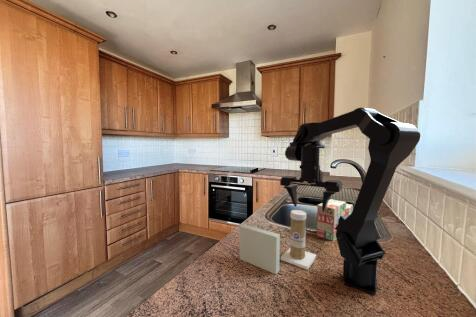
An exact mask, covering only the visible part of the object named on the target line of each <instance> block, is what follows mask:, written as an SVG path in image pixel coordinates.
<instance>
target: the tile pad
mask: <svg viewBox="0 0 476 317" xmlns="http://www.w3.org/2000/svg"><path fill="white" fill-rule="evenodd" d="M315 259H317V254H315V253H312V252H310V251H306V250H305V258H303V259H296V258H293V257H292V256H291V255H290V247H289V248H288V249H287V250H286V251H285V252H284V253H283V254H282V255H281V256H280V261H283V262H286V263H288V264H289V265H290V264H291V265H294V266H296V267H299V268H301V269H304V270H307V271H308V270H309V268H310V267H311V266H312V264H313V262H314V261H315Z"/></svg>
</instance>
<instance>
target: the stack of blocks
mask: <svg viewBox="0 0 476 317" xmlns="http://www.w3.org/2000/svg"><path fill="white" fill-rule="evenodd" d="M322 204H323V202H321V203H319V204H317V209H316V210H317V211H316V237H319V238H322V239H325V240H326V241H331V242H335V241H337V238H336V231H337V230H335V228H336V227H337V225H338V220H339V218H340V216H345V215H350V214H351V213H352V210H353V208H354V204H351V203H350V204H349V203H347V201H343V200H339V199H332V198H331V199H329V201H328V204H327V206H326V209H325V211H324V212H323V211H322Z"/></svg>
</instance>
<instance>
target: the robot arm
mask: <svg viewBox="0 0 476 317" xmlns="http://www.w3.org/2000/svg"><path fill="white" fill-rule="evenodd" d="M357 128H358V129H359V131H360V132H361V133H362V134H363V135H364V136H366V137H367V138H368V139H369V140H368V141H369V142H368V147H367V150H368V153H369V158H370V159H369V160H370V162H369V165H368V167H367V171H366V172H365V175H364V178H363V180H362V184H361V186H360V189H359V192H358V195H357V197H356V201H355V203H354V204H353V210H352V213H351V214H350V215H345V216H340V218H339V220H338V225H337V227H336V228H335V230H337V231H336V238H337V239H336V242H337V245H338V250H339V254H340V257H341V258H342V259H343V262H342V264H343V268H342V276H343V278H344V280H343V283H344V284H345V285H346V286H350V287H353V288H355V289H358V290H361V291H364V292H367V293H369V294H372V295H377V288H378V287H377V286H378V278H377V274H378V273H377V272H378V261H379V260H383V259H384V257H385V255H386V251H385V250H384V249H383V247H382V246H381V244H380V243H379V241H378V240H377V239H376V237H377V236H376V235H377V228H376V223H375V220H376V217H377V215H378V213H379V210H380V207H381V205H382V203H383V202H384V201H383V200H384V199H385V196H386V195H387V191H388V189H389V187H390V184H391V182H392V180H393V177H394V175H395V172H396V169H397V168H398V166H399V165H400V164H402V163H403V162H404V160H406V159H407V158H408V157H409V156H411V154H412V152H413V151H414V149H415V148H416V146H418V144H419V142H420V139H421V132H420V131H419V130H418V128H417V127H416V126H415V125H414V124H412V123H405V122H401V121H398V120H396V119H395V118H391V117H389V116H387V115H385V114H382V113H381V112H379V111H377V110H376V109H374V108H372V107H371V108H369V107H357V108H355V109H354V110H352V111H348V112H345V113H343V114H340V115H337V116H335V117H331V118H329V119H326V120H323V121H320V122H306V123H302V124H300V125H299V128H298V129H297V132H296V134H295V136H294V138H293V139H292V142H291V141H290V142H289V145H288V146H287V147H286V148H285V150H284V155H285V158H286V159H287V160H289V161H291V162H292V161H294V162H300V165H299V169H300V177H299V178H297V176H295V175H293V176H292V175H286V176H281V178H280V181H279V183H280V184H279V186H283V189H286V191H287V193H288V196H289V197H290V199H291V202H292V204H293V206H294V207H295V208H296V207H297V205H298V197H297V196H298V195H297V194H298V193H297V189H298V185H299V186H307V187H316V188H324V189H325V190H323V193H322V203H323V204H322V211H323V212H324V211H325V209H326V206H327V204H328V201H329V200H330V198H331V197H332V196H333V195H335V194H336V193H339V192H341V191H342V190H343V181H341V180H337V179H328V180H326V181H323V179H324V172H323V171H322V170H321V165H320V151H321V150H320V149H325V148H326V146H325V145H324V144H323V143H322V142H321V141H322V140H325V139H326V138H327V137H328V136H330V135H333V134H337V133H341V132H344V131H348V130H352V129H357Z"/></svg>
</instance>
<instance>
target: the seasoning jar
mask: <svg viewBox="0 0 476 317" xmlns="http://www.w3.org/2000/svg"><path fill="white" fill-rule="evenodd" d="M289 216H290V235H289V236H290V237H289V239H290V240H289V242H290V243H289V244H290V247H289V248H290V255H291V256H292V257H293V258H296V259H303V258H305V251H306V233H307V232H306V230H307V229H306V224H307V223H306V221H307V212H306V211H305V210H299V209H292V210H291V211H290V215H289Z"/></svg>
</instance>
